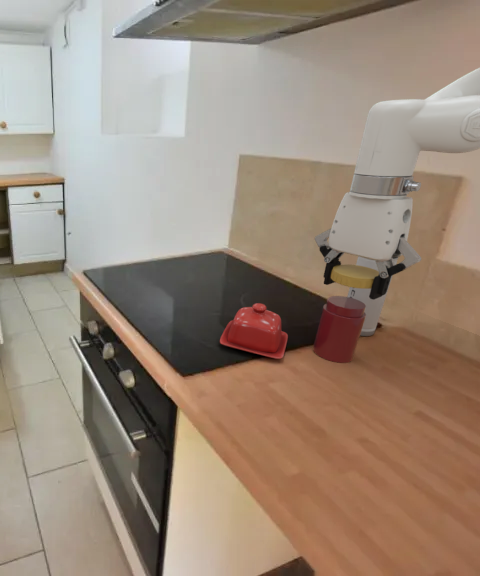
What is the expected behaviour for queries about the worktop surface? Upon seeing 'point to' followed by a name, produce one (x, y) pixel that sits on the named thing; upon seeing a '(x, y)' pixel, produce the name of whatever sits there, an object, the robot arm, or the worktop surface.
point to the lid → (354, 276)
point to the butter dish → (256, 332)
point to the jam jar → (339, 329)
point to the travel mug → (372, 306)
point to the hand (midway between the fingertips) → (351, 289)
